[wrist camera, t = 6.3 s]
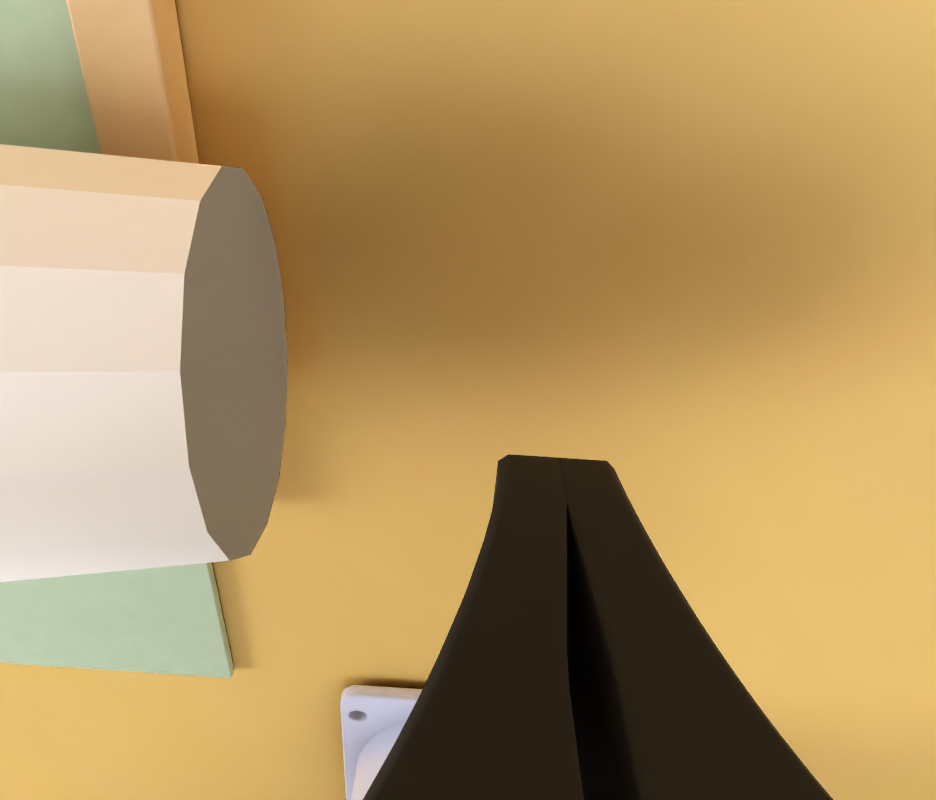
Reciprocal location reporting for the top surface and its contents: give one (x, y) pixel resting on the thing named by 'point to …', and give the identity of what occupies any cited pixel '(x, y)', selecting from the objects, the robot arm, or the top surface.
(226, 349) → the beige short cylinder
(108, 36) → the stop batten
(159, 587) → the mat
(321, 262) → the top surface
